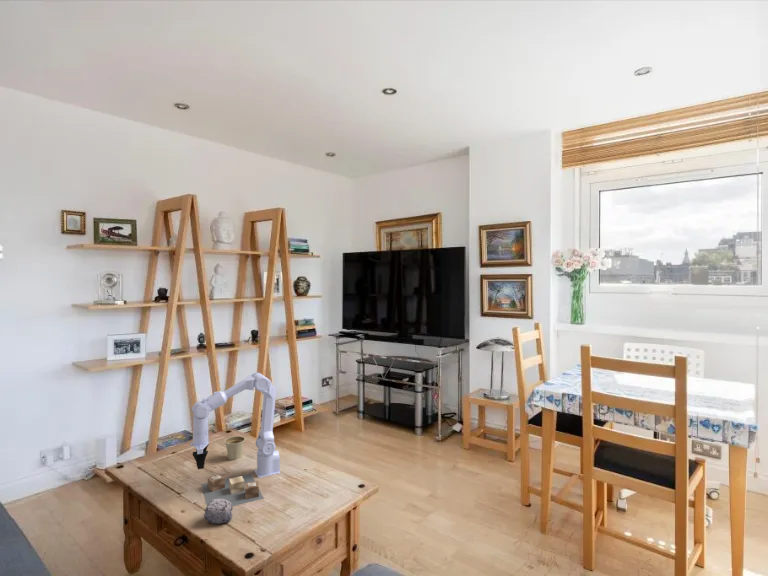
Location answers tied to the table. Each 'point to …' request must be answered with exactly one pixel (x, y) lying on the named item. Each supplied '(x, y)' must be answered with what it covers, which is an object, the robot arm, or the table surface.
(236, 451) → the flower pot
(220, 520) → the pumice stone
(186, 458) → the table surface
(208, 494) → the slate mat
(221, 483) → the walnut block
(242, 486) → the plain block
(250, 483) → the walnut block
